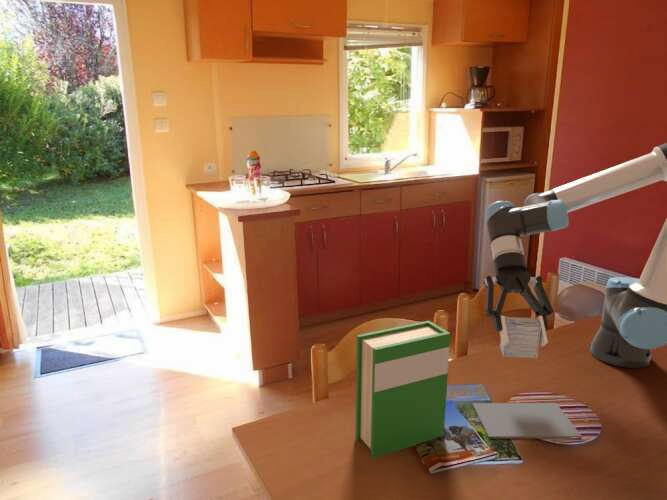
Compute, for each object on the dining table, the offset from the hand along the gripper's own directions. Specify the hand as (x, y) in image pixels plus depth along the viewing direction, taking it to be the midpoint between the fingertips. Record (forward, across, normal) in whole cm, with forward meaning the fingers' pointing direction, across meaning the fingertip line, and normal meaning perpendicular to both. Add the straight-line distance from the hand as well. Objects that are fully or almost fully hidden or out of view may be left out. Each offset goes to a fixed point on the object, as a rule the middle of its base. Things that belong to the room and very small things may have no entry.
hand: (524, 344), depth 120 cm
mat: (+16, +1, -6) cm, 17 cm away
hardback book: (+20, +30, -2) cm, 36 cm away
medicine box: (+1, 0, -6) cm, 6 cm away
